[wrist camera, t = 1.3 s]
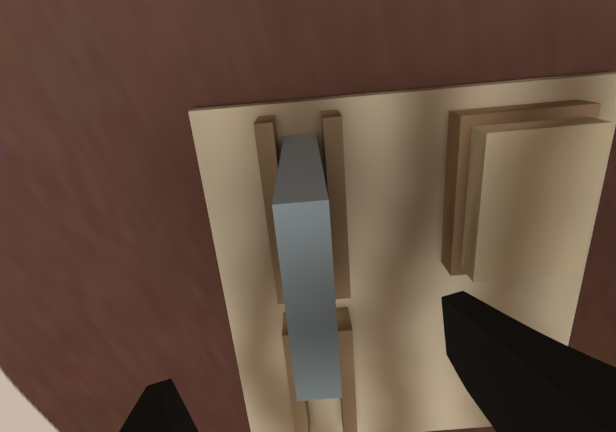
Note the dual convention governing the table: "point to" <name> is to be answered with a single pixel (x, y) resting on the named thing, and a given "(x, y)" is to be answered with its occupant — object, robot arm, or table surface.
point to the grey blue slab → (307, 268)
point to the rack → (368, 250)
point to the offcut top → (531, 197)
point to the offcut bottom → (460, 153)
